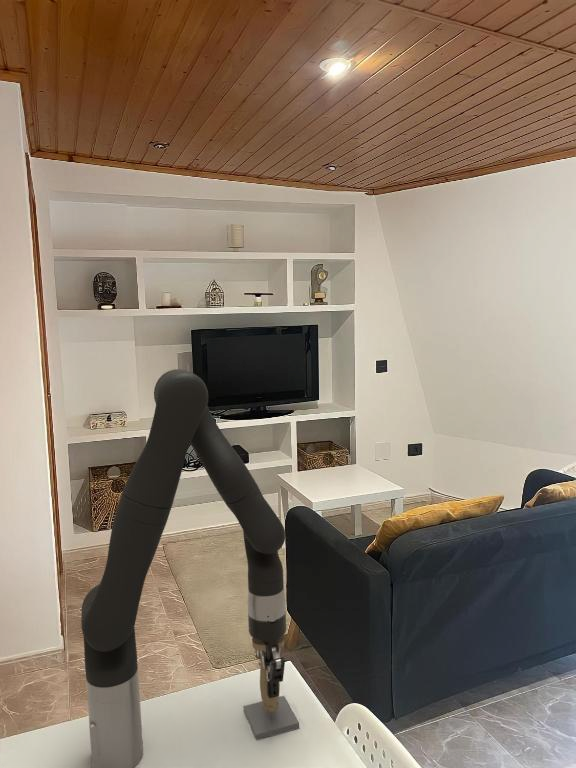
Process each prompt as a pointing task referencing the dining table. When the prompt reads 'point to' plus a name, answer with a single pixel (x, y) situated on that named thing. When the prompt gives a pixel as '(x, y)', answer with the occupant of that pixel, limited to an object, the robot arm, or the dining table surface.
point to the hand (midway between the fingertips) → (269, 689)
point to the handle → (268, 703)
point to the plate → (270, 719)
